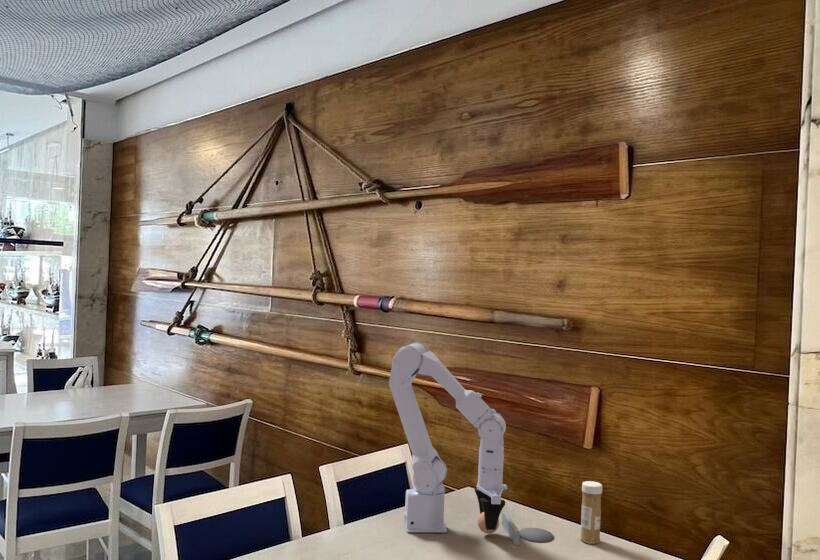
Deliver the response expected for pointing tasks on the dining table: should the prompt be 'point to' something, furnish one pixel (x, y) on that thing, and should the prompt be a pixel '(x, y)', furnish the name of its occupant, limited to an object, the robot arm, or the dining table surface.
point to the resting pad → (536, 535)
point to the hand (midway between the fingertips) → (488, 524)
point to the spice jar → (591, 512)
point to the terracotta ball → (482, 524)
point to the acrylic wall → (510, 528)
